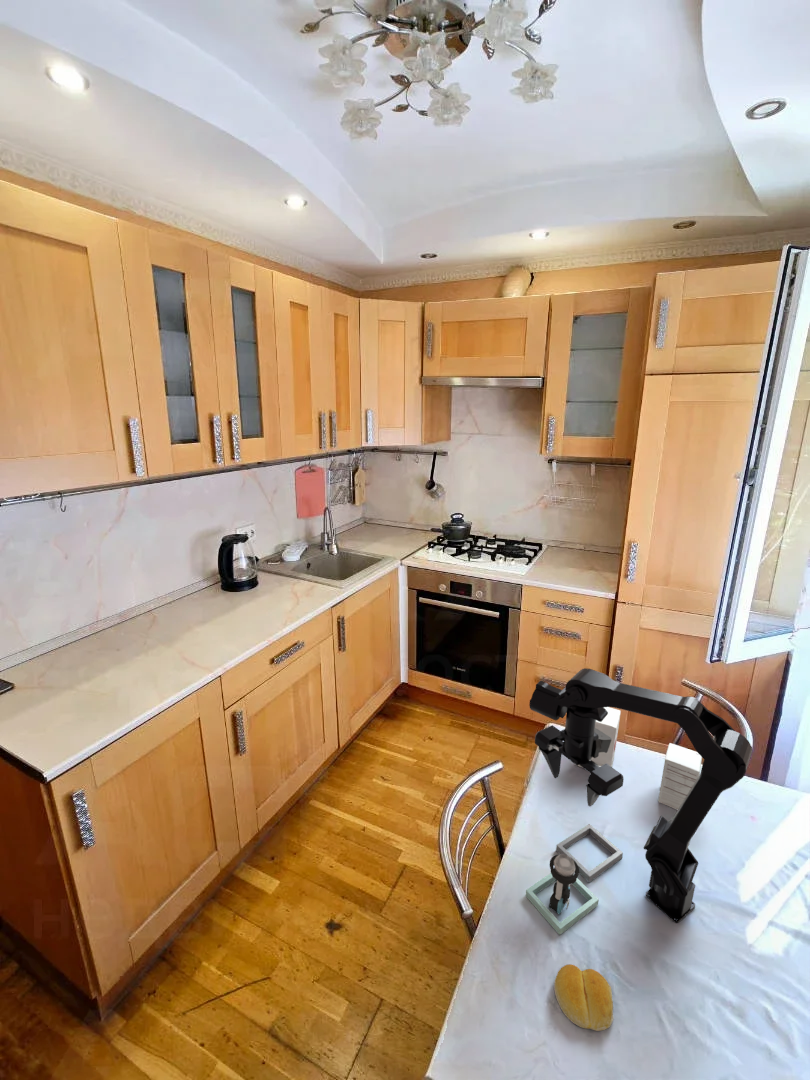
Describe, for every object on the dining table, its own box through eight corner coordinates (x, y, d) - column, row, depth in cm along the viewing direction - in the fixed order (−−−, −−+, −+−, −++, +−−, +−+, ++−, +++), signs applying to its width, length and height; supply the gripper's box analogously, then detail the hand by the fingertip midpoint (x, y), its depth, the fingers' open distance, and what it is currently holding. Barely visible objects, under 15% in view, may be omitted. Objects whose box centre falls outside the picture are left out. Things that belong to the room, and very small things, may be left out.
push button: (555, 880, 98) (560, 840, 96) (581, 896, 95) (586, 856, 92) (541, 904, 94) (545, 863, 91) (567, 923, 90) (572, 881, 88)
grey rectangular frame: (622, 858, 103) (622, 852, 103) (588, 882, 98) (589, 876, 98) (588, 829, 110) (589, 823, 110) (556, 850, 105) (556, 844, 105)
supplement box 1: (610, 778, 126) (616, 728, 122) (574, 765, 130) (579, 717, 126) (615, 757, 133) (621, 710, 129) (581, 746, 137) (586, 699, 134)
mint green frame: (597, 905, 93) (598, 899, 93) (559, 935, 88) (560, 928, 88) (562, 870, 101) (563, 864, 100) (525, 895, 95) (526, 889, 95)
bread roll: (552, 966, 83) (554, 949, 82) (608, 981, 81) (611, 964, 80) (554, 1023, 76) (557, 1005, 75) (616, 1041, 74) (619, 1023, 72)
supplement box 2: (662, 783, 124) (669, 741, 120) (695, 796, 120) (703, 753, 116) (656, 802, 118) (664, 758, 115) (691, 816, 114) (700, 771, 110)
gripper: (645, 740, 97) (635, 805, 101) (570, 695, 112) (564, 752, 116) (609, 761, 91) (600, 828, 95) (535, 709, 106) (530, 769, 110)
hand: (572, 790), depth 104 cm, fingers open, 9 cm apart
